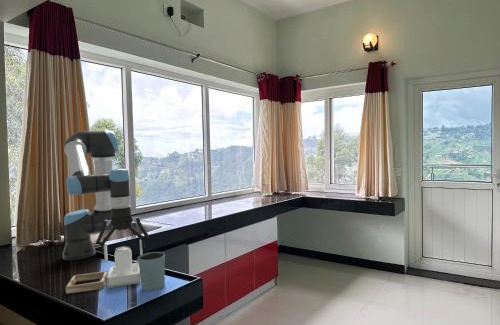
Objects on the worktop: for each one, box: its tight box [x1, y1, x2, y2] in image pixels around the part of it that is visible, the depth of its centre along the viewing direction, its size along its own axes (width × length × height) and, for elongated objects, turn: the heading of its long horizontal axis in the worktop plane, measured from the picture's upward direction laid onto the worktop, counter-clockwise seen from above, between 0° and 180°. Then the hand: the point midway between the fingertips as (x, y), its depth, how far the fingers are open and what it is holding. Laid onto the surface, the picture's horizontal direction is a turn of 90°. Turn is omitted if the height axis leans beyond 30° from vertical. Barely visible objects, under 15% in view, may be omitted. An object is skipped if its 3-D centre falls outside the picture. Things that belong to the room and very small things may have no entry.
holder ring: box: [65, 270, 109, 295], centre depth 133 cm, size 13×13×2 cm
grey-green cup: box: [137, 251, 166, 292], centre depth 128 cm, size 10×10×12 cm
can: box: [114, 245, 133, 276], centre depth 137 cm, size 6×6×12 cm
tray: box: [106, 262, 141, 289], centre depth 137 cm, size 14×12×4 cm
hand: (124, 258), depth 137 cm, fingers open, 13 cm apart
